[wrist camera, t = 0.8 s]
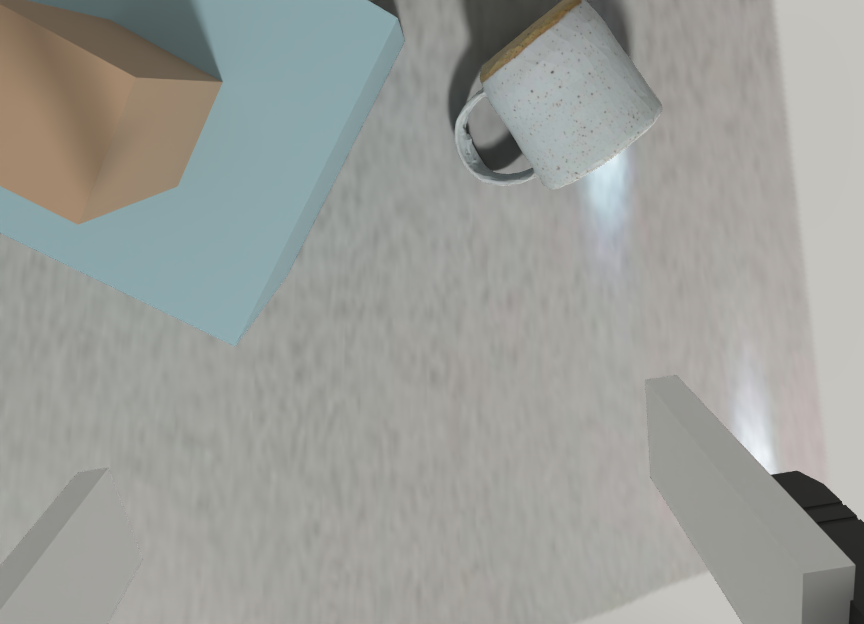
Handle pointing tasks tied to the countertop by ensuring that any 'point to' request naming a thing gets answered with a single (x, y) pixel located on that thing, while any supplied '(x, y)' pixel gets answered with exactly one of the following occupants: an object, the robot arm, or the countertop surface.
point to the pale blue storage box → (182, 139)
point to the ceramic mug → (562, 98)
